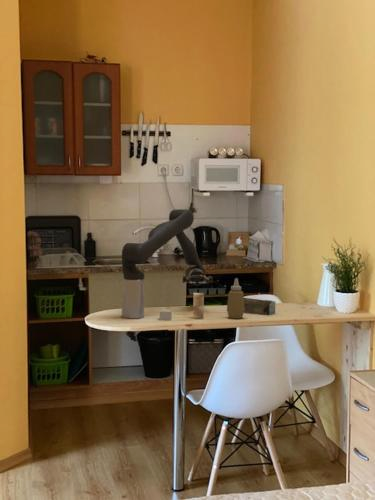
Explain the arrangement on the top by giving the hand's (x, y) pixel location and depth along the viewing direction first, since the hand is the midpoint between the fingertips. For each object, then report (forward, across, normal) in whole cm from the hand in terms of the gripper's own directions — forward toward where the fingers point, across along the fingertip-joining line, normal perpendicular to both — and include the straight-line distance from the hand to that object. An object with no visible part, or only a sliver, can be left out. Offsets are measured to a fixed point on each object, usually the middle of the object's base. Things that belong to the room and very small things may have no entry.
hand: (198, 281), depth 300 cm
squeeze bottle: (+10, +17, +15) cm, 25 cm away
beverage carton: (-6, +27, +16) cm, 32 cm away
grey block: (+16, -15, +15) cm, 26 cm away
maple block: (+12, 0, +15) cm, 19 cm away
